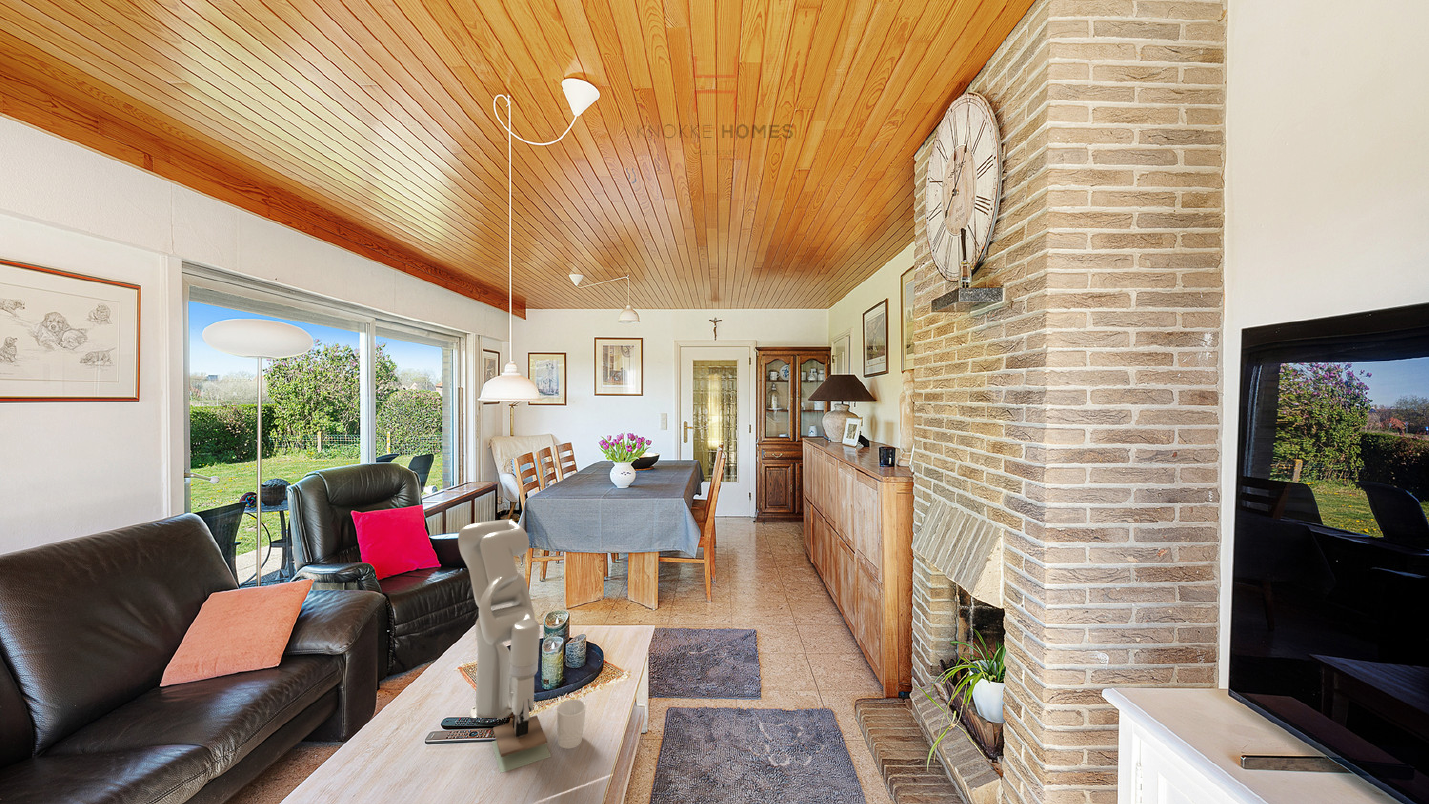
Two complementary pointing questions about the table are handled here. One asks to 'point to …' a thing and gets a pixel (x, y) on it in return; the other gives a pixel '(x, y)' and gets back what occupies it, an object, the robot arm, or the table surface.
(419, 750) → the table surface
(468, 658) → the table surface
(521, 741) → the walnut lid
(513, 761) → the sage mat
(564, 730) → the white cup
